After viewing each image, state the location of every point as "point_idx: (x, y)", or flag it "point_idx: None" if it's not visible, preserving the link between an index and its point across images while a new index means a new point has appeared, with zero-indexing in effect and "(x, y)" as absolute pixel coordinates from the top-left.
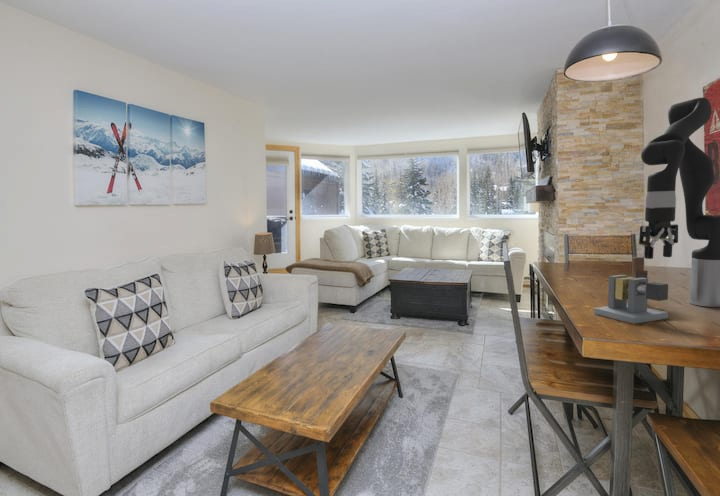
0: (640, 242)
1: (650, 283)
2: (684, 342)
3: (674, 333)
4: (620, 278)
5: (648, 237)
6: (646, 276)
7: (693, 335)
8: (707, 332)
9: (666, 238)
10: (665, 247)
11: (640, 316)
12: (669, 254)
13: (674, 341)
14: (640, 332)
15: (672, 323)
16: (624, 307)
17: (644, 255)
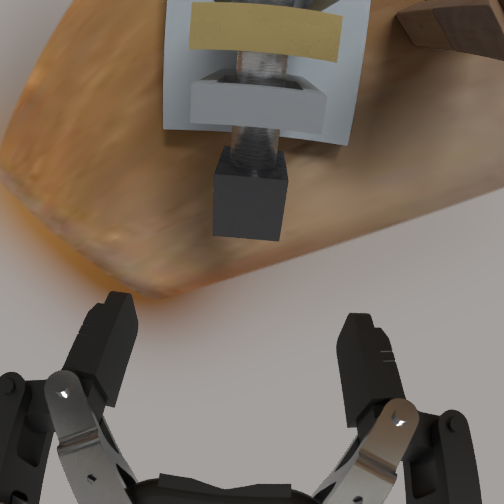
0: (1, 392)
1: (222, 190)
2: (138, 266)
3: (182, 227)
4: (214, 16)
5: (29, 463)
6: (492, 55)
7: (207, 253)
8: (264, 257)
9: (323, 489)
10: (360, 390)
11: (199, 129)
12: (340, 358)
13: (125, 254)
14: (113, 186)
15: None
16: None
17: (90, 311)
